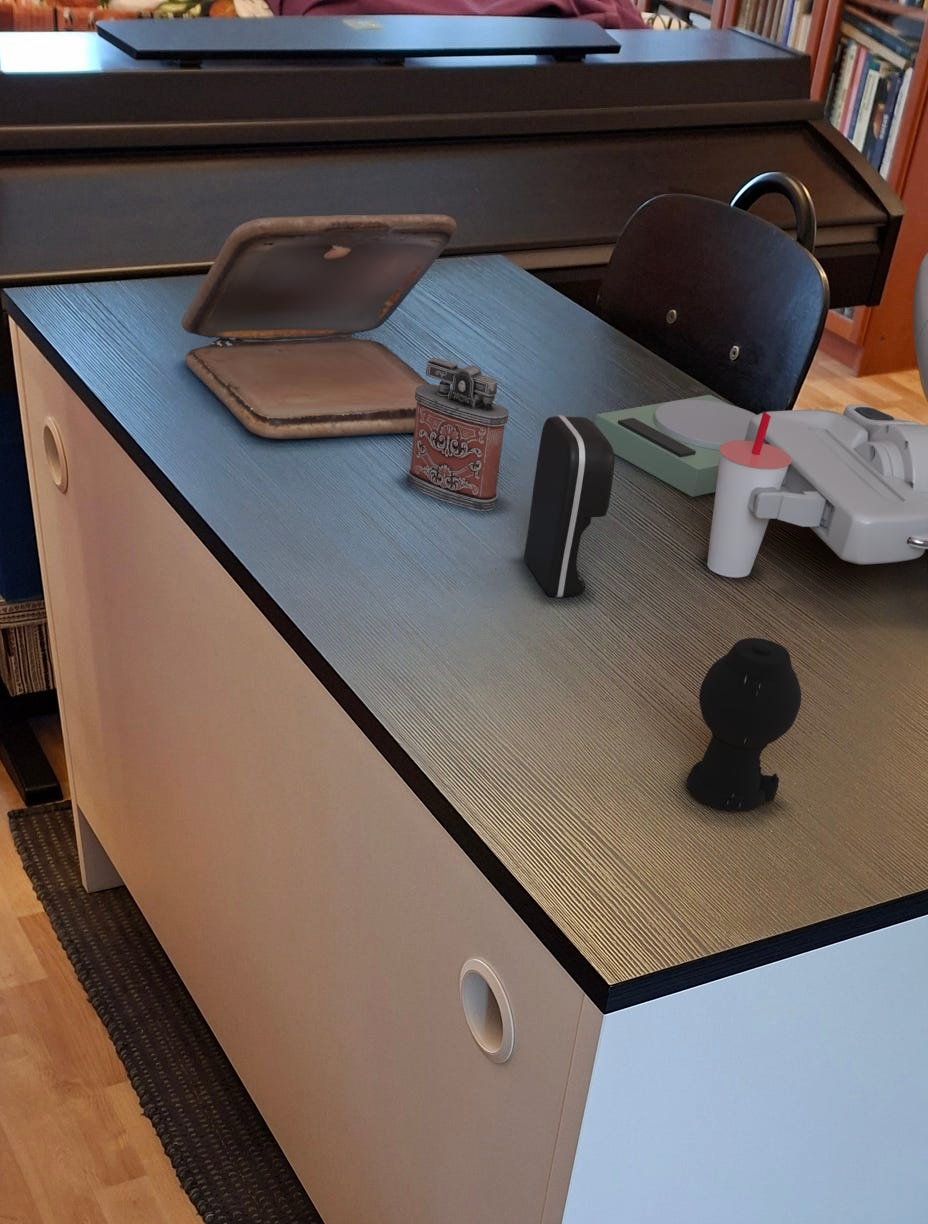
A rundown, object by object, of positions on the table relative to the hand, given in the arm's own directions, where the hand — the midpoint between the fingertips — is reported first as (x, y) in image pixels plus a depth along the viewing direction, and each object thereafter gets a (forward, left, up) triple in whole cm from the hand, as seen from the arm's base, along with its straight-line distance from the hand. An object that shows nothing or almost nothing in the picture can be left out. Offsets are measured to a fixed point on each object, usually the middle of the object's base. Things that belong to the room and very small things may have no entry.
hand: (737, 485), depth 119 cm
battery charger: (+13, -4, -7) cm, 15 cm away
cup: (-1, 0, -7) cm, 7 cm away
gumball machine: (+23, +24, -7) cm, 34 cm away
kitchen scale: (-15, -18, -7) cm, 24 cm away
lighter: (+11, -20, -7) cm, 24 cm away
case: (+9, -42, -7) cm, 43 cm away
